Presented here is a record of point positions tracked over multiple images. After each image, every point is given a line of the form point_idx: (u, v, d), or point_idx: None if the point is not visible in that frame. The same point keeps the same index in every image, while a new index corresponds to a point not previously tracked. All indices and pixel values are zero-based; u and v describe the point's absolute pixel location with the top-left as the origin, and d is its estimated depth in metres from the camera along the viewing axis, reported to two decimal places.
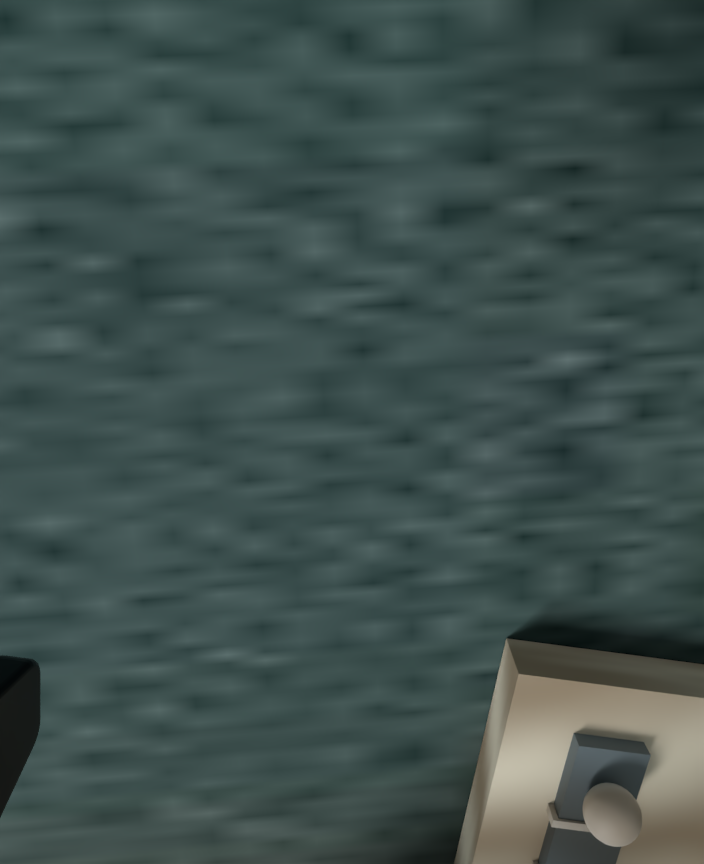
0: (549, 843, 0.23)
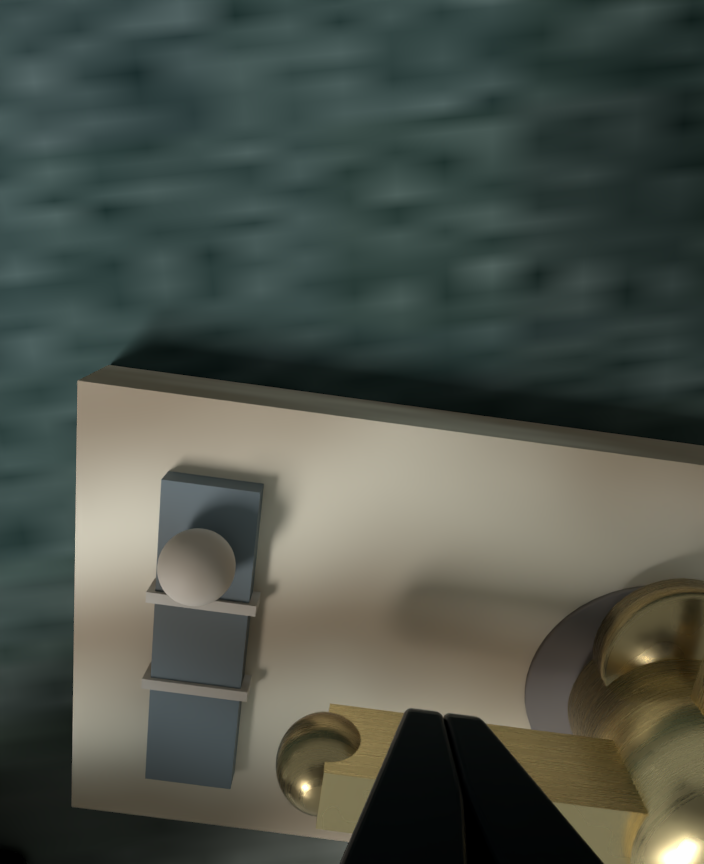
0: (154, 630, 0.17)
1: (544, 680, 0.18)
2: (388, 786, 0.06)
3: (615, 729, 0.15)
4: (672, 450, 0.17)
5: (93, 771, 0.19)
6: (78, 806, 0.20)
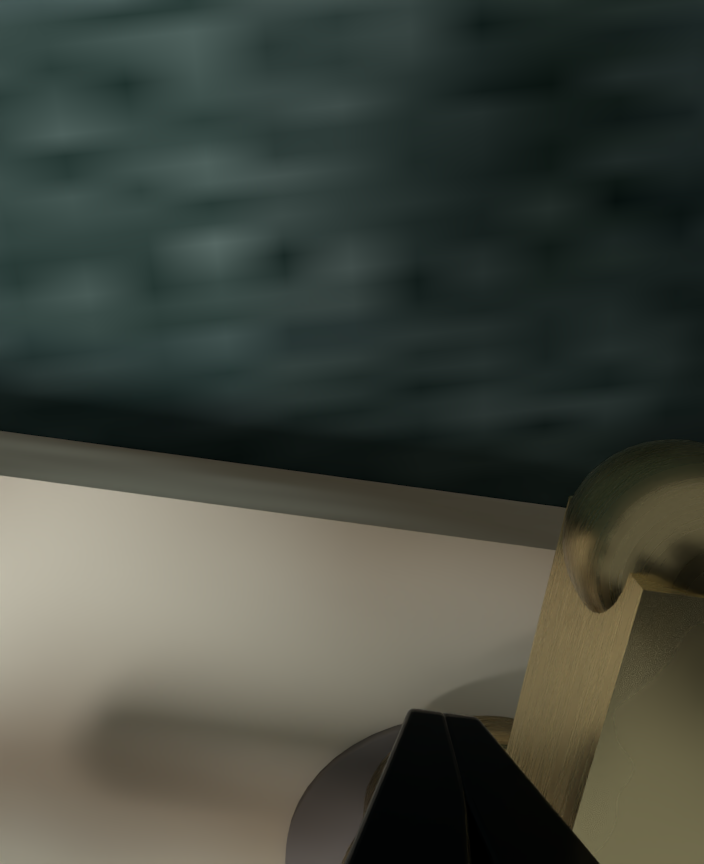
0: None
1: (309, 847, 0.12)
2: (391, 787, 0.06)
3: None
4: (486, 516, 0.12)
5: None
6: None
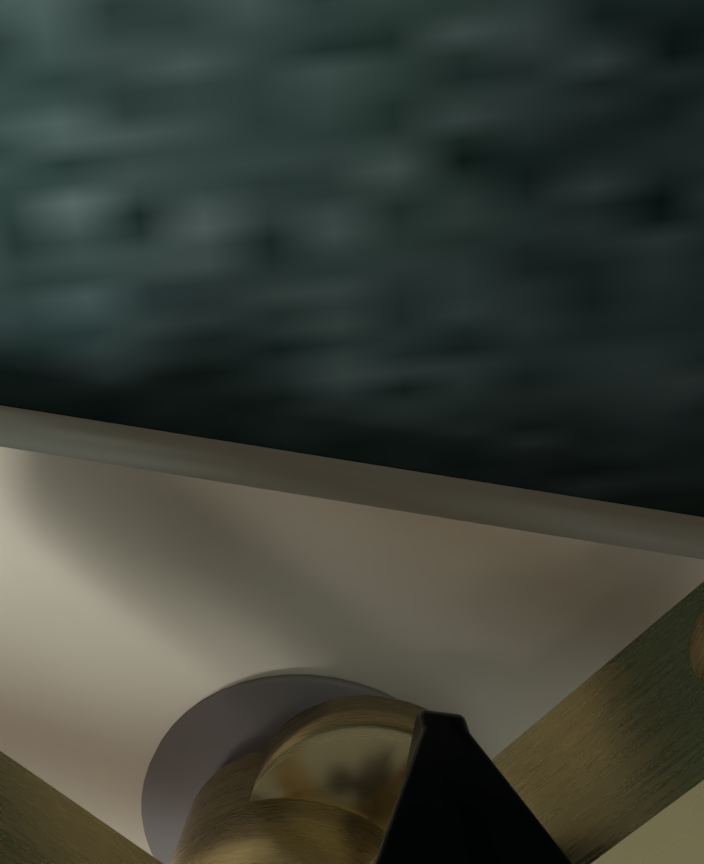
0: None
1: (163, 800, 0.12)
2: (416, 790, 0.06)
3: None
4: (336, 477, 0.12)
5: None
6: None
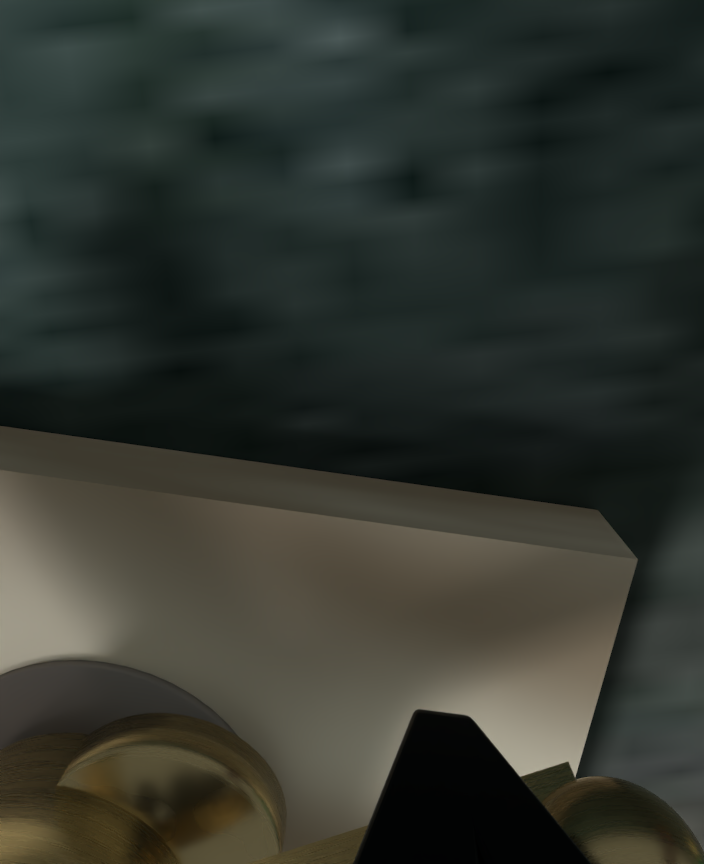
0: None
1: None
2: (399, 787, 0.06)
3: None
4: (104, 459, 0.12)
5: None
6: None
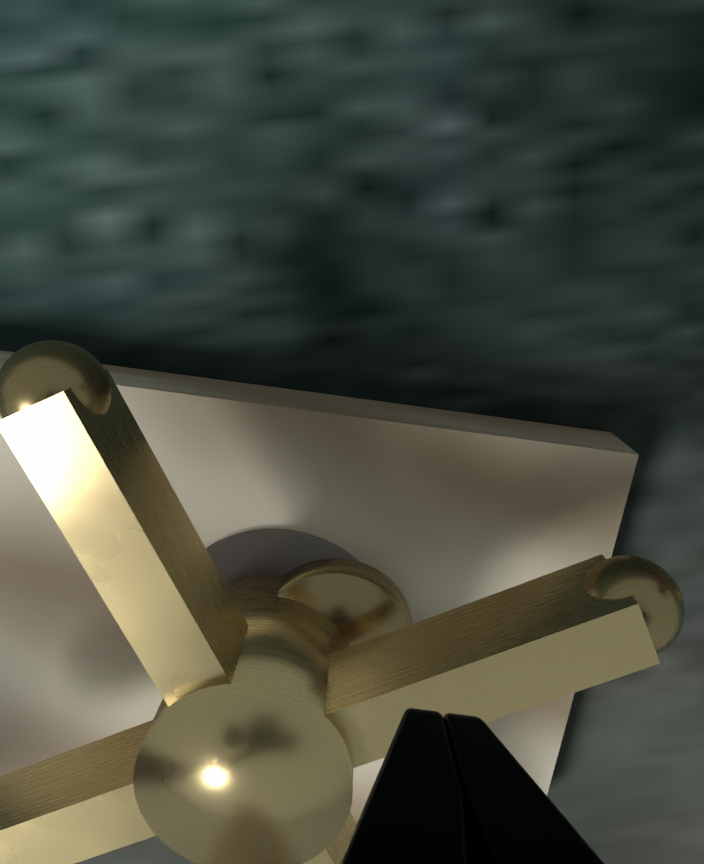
0: None
1: None
2: (388, 786, 0.06)
3: (258, 622, 0.15)
4: (288, 397, 0.18)
5: None
6: None
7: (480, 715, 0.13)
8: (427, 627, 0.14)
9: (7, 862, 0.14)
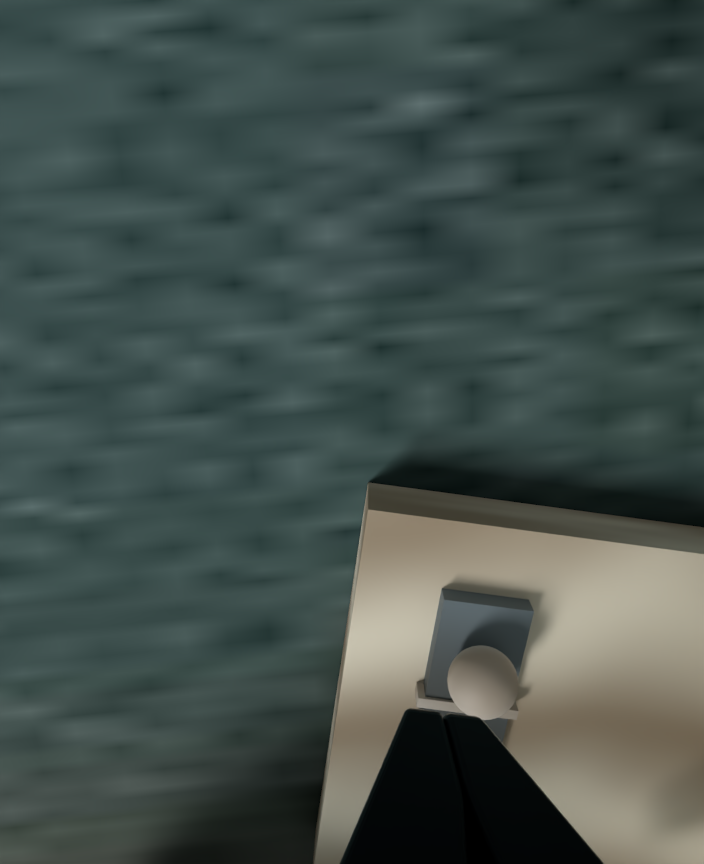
0: None
1: None
2: (388, 786, 0.06)
3: None
4: None
5: (336, 852, 0.21)
6: None
7: None
8: None
9: None
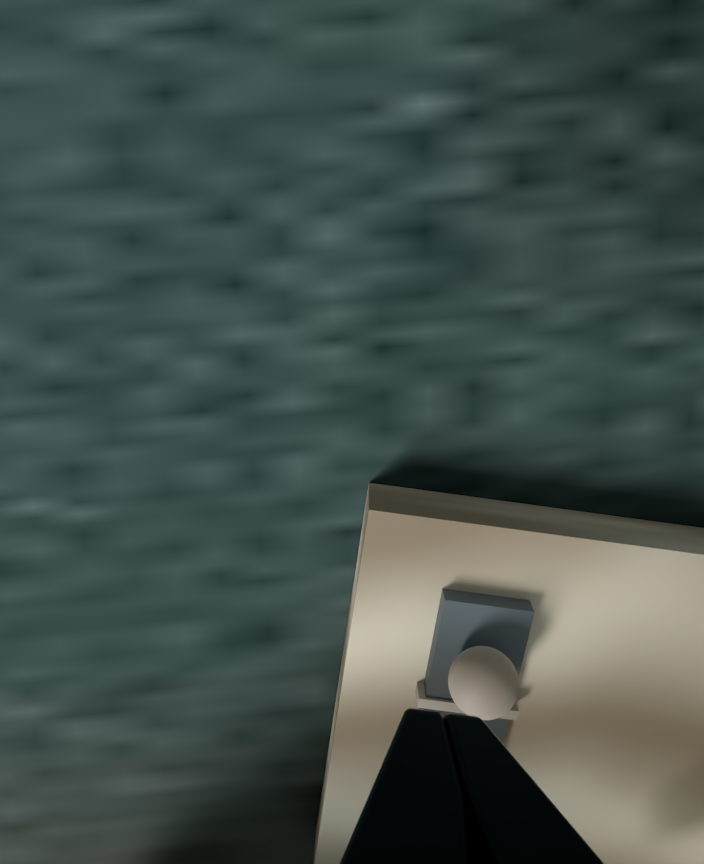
0: None
1: None
2: (388, 786, 0.06)
3: None
4: None
5: (336, 852, 0.21)
6: None
7: None
8: None
9: None
